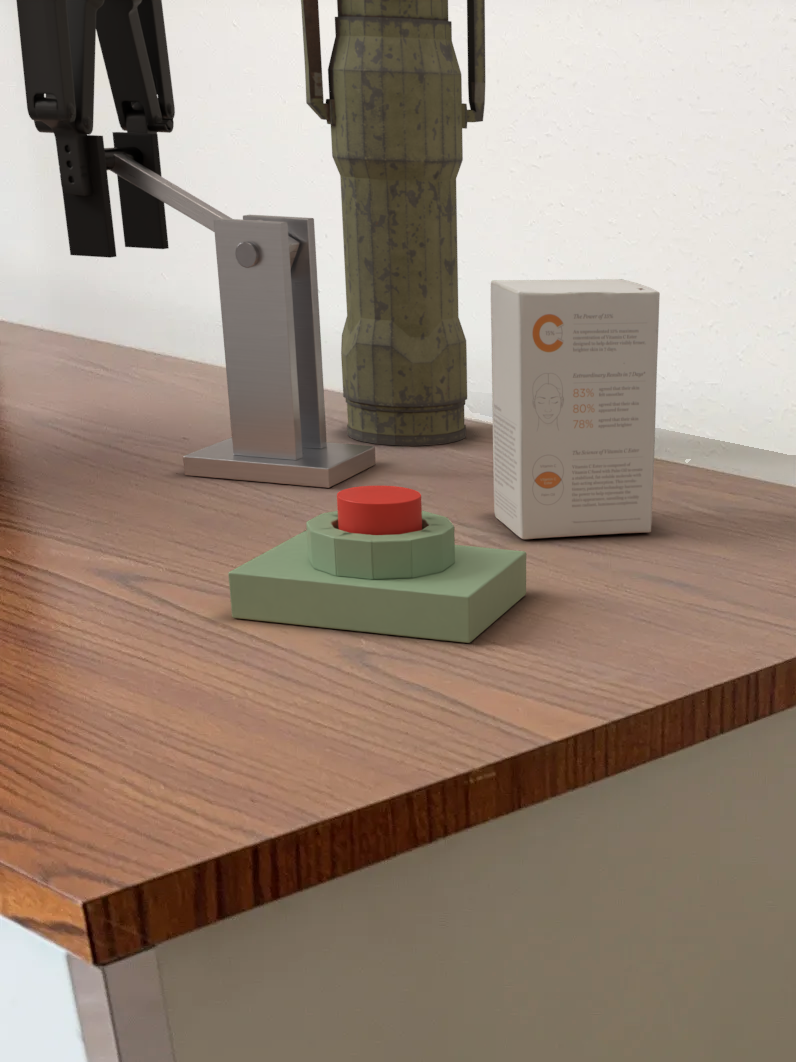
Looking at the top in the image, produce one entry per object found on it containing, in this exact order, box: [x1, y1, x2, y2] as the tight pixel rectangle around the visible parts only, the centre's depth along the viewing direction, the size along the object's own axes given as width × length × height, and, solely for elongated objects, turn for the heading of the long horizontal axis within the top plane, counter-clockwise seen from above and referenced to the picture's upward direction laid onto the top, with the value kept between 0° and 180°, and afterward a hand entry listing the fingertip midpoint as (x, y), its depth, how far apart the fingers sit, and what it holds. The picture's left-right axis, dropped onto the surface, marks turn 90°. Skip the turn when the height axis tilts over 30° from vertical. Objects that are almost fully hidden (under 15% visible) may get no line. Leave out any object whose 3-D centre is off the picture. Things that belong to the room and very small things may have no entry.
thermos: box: [300, 0, 486, 447], centre depth 111 cm, size 9×12×35 cm
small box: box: [490, 278, 660, 540], centre depth 94 cm, size 8×6×13 cm
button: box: [336, 485, 423, 535], centre depth 79 cm, size 4×4×2 cm
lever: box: [104, 147, 300, 270], centre depth 102 cm, size 13×6×2 cm, turn 75°
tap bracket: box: [182, 214, 377, 489], centre depth 105 cm, size 10×8×15 cm
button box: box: [227, 510, 527, 644], centre depth 80 cm, size 12×9×4 cm
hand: (120, 250), depth 104 cm, fingers closed on lever, 6 cm apart
